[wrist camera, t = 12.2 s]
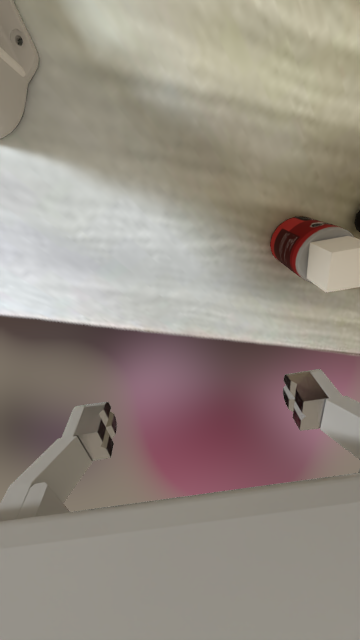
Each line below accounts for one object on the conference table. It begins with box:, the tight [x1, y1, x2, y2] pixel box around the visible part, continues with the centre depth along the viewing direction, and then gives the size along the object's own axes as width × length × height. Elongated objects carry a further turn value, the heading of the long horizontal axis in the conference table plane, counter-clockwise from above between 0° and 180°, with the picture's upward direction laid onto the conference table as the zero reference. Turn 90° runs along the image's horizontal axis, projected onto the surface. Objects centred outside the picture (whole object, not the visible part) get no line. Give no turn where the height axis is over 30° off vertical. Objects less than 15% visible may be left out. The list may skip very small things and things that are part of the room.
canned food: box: [270, 216, 354, 283], centre depth 38 cm, size 8×8×11 cm
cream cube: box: [306, 236, 360, 293], centre depth 31 cm, size 5×5×5 cm
